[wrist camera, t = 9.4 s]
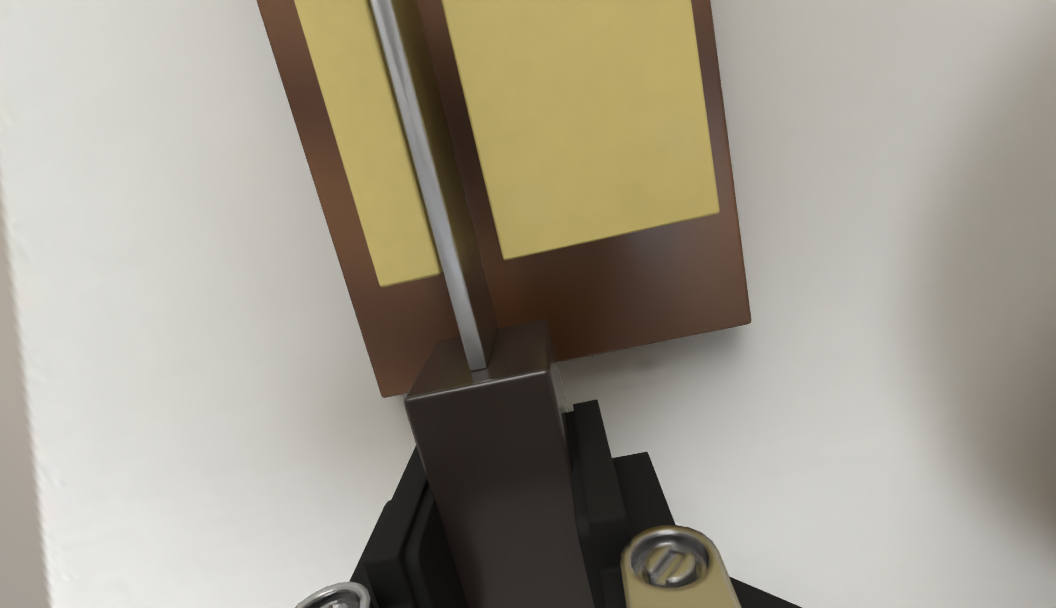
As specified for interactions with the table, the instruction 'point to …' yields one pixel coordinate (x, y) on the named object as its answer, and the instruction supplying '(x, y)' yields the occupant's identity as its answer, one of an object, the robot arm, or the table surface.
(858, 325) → the table surface
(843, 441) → the table surface
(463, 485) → the knife
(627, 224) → the butter block
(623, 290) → the board
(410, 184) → the butter slice
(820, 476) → the table surface
